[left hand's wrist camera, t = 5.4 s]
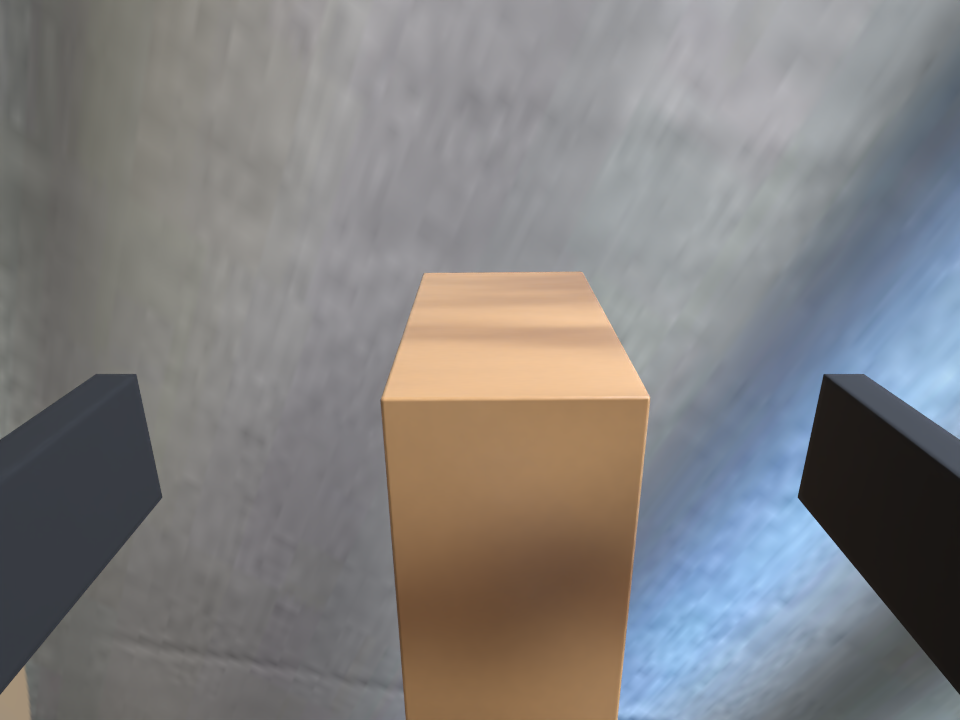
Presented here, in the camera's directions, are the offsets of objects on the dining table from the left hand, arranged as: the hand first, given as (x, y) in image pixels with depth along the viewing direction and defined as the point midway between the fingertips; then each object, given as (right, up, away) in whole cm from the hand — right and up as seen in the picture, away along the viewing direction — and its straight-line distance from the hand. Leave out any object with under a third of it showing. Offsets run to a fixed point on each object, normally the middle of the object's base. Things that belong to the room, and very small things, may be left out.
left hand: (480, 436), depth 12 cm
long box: (+1, -7, +17) cm, 18 cm away
